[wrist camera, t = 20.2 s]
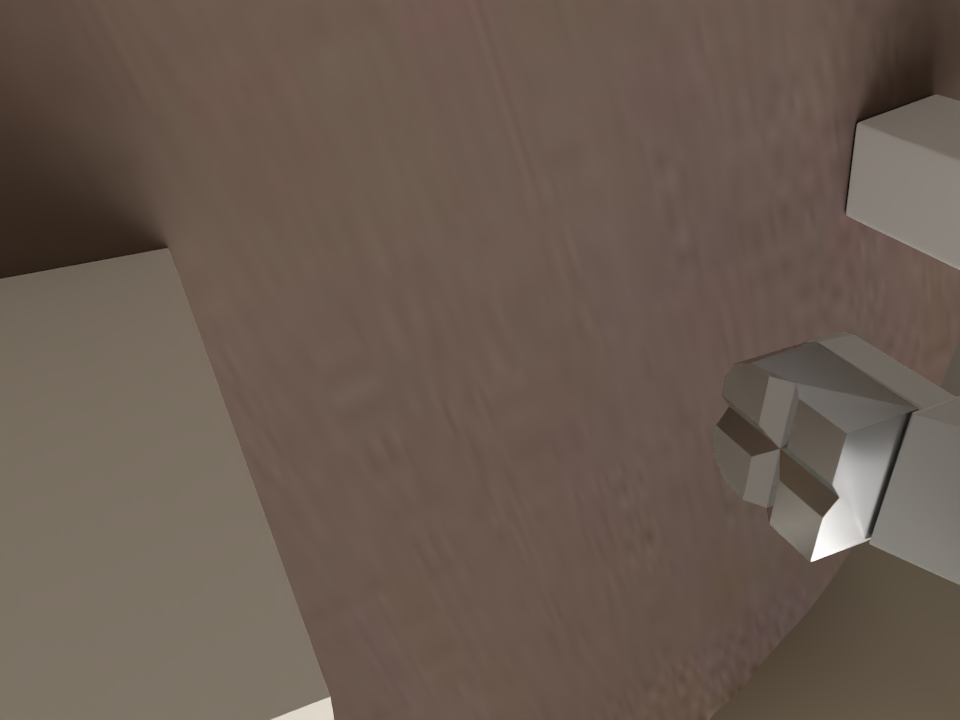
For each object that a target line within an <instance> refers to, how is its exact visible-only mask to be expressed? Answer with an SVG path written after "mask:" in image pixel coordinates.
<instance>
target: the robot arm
mask: <svg viewBox="0 0 960 720" xmlns="http://www.w3.org/2000/svg"><path fill="white" fill-rule="evenodd" d="M722 396H723V397H724V399H725V400H726V402H727V403H728V405H729V408H728V409H727V411H726V412H725V413H724V415H723V416H722V418H721V419H720V421H719V422H718V423H717V425H716V430H715V438H714V446H713V450H714V453H715V457H716V460H717V464H718V468H719V471H720V472H721V474H722V475H723V477H724V479H725V480H726V482H727V483H728V485H729V486H730V487H731V488H732V489H733V490H734V491H735V492H736V493H737V494H738V495H739V496H740V497H741V498H742V499H743V500H746V501H749V502H752V503H755V504H758V505H760V506H763V507H766V508H767V513H768V519H769V524H770V525H771V526H772V527H773V528H774V529H775V530H776V531H777V532H778V533H780V534H781V535H782V536H783V537H784V538H785V539H786V540H787V541H788V542H789V543H790V544H791V545H792V546H794V547H795V548H796V549H797V550H798V551H799V552H800V553H801V554H802V555H803V556H804V557H805V558H806V559H808V560H809V561H810V562H812V561H815V560H817V559H820V558H823V557H825V556H828V555H831V554H833V553H836V552H839V551H841V550H844V549H847V548H849V547H852V546H855V545H857V544H860V543H863V542H865V541H868V540H870V542H869V544H871V545H873V546H875V547H877V548H879V549H882V550H884V551H886V552H888V553H890V554H893V555H895V556H897V557H899V558H902V559H904V560H906V561H908V562H910V563H913V564H915V565H917V566H919V567H921V568H924V569H926V570H928V571H930V572H932V573H935V574H937V575H939V576H941V577H944V578H946V579H948V580H950V581H952V582H954V583H957V584H959V585H960V397H955V396H953V395H951V394H950V393H948V392H946V391H945V390H943V389H942V388H940V387H938V386H937V385H935V384H933V383H932V382H930V381H928V380H927V379H925V378H924V377H922V376H920V375H919V374H917V373H915V372H914V371H912V370H910V369H909V368H907V367H906V366H904V365H902V364H901V363H899V362H897V361H896V360H894V359H893V358H891V357H889V356H888V355H886V354H884V353H883V352H881V351H879V350H878V349H876V348H875V347H873V346H871V345H870V344H868V343H866V342H865V341H863V340H861V339H860V338H858V337H857V336H855V335H853V334H849V333H844V332H839V331H836V332H833V333H830V334H827V335H824V336H820V337H817V338H814V339H811V340H808V341H805V342H803V343H801V344H799V345H794V346H791V347H788V348H784V349H781V350H778V351H775V352H771V353H768V354H765V355H761V356H758V357H755V358H752V359H748V360H745V361H742V362H738V363H735V364H733V366H732V367H731V368H730V370H729V371H728V373H727V374H726V376H725V380H724V385H723V390H722Z"/></svg>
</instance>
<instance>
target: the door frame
mask: <svg viewBox="0 0 960 720" xmlns="http://www.w3.org/2000/svg"><path fill="white" fill-rule="evenodd" d="M0 720H334V716H333V710H332V704H331V699H330V695H329V692H328V689H327V686H326V684H325V681H324V678H323V675H322V673H321V670H320V667H319V664H318V661H317V659H316V656H315V653H314V650H313V648H312V645H311V642H310V639H309V636H308V634H307V631H306V628H305V625H304V623H303V620H302V617H301V614H300V611H299V609H298V606H297V603H296V600H295V598H294V595H293V592H292V589H291V586H290V584H289V581H288V578H287V575H286V573H285V570H284V567H283V564H282V561H281V559H280V556H279V553H278V550H277V548H276V545H275V542H274V539H273V536H272V534H271V531H270V528H269V525H268V523H267V520H266V517H265V514H264V511H263V509H262V506H261V503H260V500H259V498H258V495H257V492H256V489H255V486H254V484H253V481H252V478H251V475H250V473H249V470H248V467H247V464H246V462H245V459H244V456H243V453H242V450H241V448H240V445H239V442H238V439H237V437H236V434H235V431H234V428H233V425H232V423H231V420H230V417H229V414H228V412H227V409H226V406H225V403H224V400H223V398H222V395H221V392H220V389H219V387H218V384H217V381H216V378H215V375H214V373H213V370H212V367H211V364H210V362H209V359H208V356H207V353H206V350H205V348H204V345H203V342H202V339H201V337H200V334H199V331H198V328H197V325H196V323H195V320H194V317H193V314H192V312H191V309H190V306H189V303H188V300H187V298H186V295H185V292H184V289H183V287H182V284H181V281H180V278H179V275H178V273H177V270H176V267H175V264H174V262H173V259H172V256H171V253H170V250H169V248H165V249H160V250H154V251H149V252H143V253H138V254H132V255H127V256H122V257H116V258H111V259H105V260H100V261H94V262H89V263H84V264H78V265H73V266H67V267H62V268H56V269H51V270H46V271H40V272H35V273H29V274H24V275H19V276H13V277H8V278H2V279H0Z"/></svg>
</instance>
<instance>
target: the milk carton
mask: <svg viewBox="0 0 960 720" xmlns="http://www.w3.org/2000/svg"><path fill="white" fill-rule="evenodd" d="M846 215H847V216H849V217H851V218H853V219H855V220H857V221H859V222H861V223H863V224H865V225H867V226H869V227H872V228H874V229H876V230H878V231H880V232H882V233H884V234H886V235H888V236H890V237H892V238H894V239H897V240H899V241H901V242H903V243H905V244H907V245H909V246H911V247H913V248H915V249H917V250H919V251H922V252H924V253H926V254H928V255H930V256H932V257H934V258H936V259H938V260H940V261H942V262H945V263H947V264H949V265H951V266H953V267H955V268H957V269H959V270H960V101H958V100H954V99H951V98H948V97H944V96H941V95H937V94H935V95H932V96H930V97H927V98H924V99H921V100H919V101H916V102H913V103H910V104H908V105H905V106H902V107H899V108H897V109H894V110H891V111H888V112H886V113H883V114H880V115H877V116H875V117H872V118H869V119H866V120H864V121H861V122H858V123H857V128H856V135H855V143H854V151H853V159H852V168H851V176H850V184H849V192H848V200H847V209H846Z"/></svg>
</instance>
